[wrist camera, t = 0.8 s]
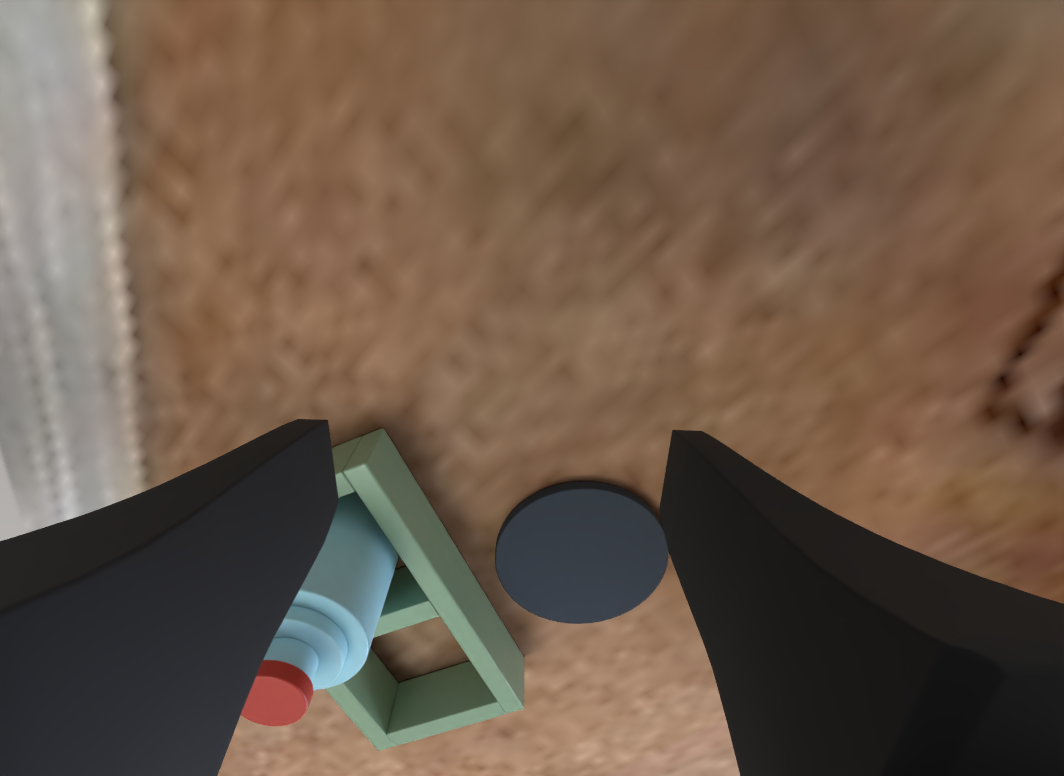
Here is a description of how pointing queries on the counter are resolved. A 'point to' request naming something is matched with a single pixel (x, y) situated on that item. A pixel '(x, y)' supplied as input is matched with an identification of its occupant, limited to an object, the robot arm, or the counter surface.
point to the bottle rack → (423, 612)
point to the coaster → (581, 552)
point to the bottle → (326, 618)
